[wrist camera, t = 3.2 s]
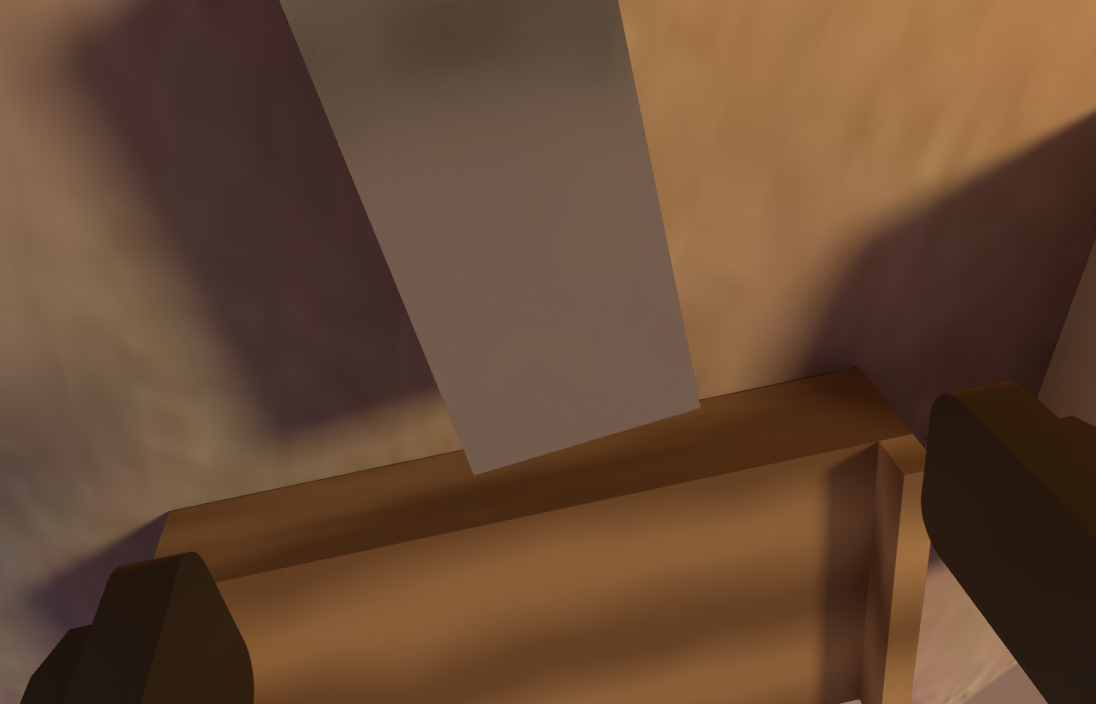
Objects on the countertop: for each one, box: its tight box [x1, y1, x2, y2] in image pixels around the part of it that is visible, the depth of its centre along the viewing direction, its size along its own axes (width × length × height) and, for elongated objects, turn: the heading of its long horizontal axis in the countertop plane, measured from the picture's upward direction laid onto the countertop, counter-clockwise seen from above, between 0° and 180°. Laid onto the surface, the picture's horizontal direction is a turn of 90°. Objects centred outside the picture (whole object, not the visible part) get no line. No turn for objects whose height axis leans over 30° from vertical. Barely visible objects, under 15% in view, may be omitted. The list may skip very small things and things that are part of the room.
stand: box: [154, 367, 931, 704], centre depth 28 cm, size 12×22×5 cm, turn 99°
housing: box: [279, 0, 700, 475], centre depth 20 cm, size 6×12×6 cm, turn 15°
